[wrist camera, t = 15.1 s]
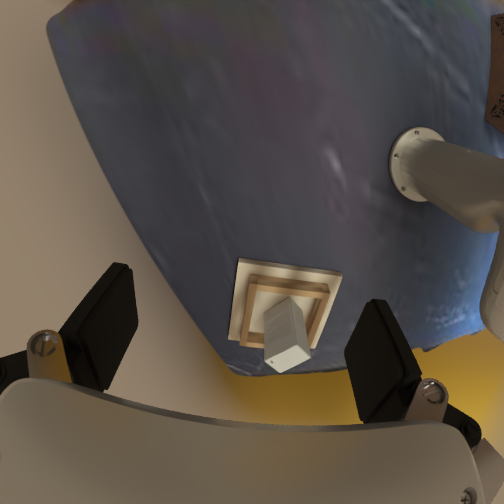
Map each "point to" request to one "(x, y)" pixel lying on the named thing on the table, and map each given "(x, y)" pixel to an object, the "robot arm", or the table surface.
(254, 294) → the socket stand
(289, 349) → the skincare box
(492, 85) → the tissue box cover
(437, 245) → the table surface
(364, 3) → the table surface
